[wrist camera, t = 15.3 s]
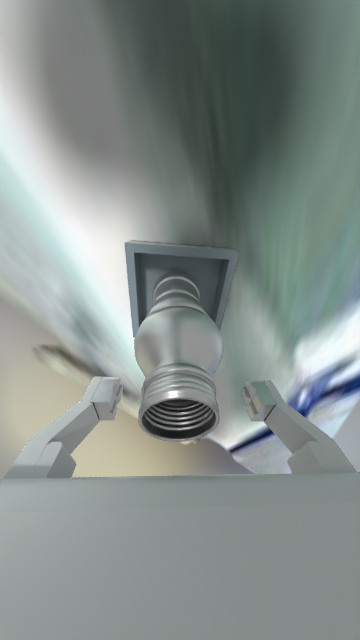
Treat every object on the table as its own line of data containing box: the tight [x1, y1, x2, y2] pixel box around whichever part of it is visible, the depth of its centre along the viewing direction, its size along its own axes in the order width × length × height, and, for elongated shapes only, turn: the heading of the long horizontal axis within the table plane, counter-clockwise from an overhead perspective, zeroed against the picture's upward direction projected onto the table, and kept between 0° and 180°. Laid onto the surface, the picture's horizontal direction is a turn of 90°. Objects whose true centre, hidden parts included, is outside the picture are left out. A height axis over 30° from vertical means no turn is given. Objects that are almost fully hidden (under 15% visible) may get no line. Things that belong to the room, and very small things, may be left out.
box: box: [125, 240, 239, 337], centre depth 24 cm, size 14×14×4 cm
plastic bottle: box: [134, 271, 222, 442], centre depth 16 cm, size 6×7×20 cm
